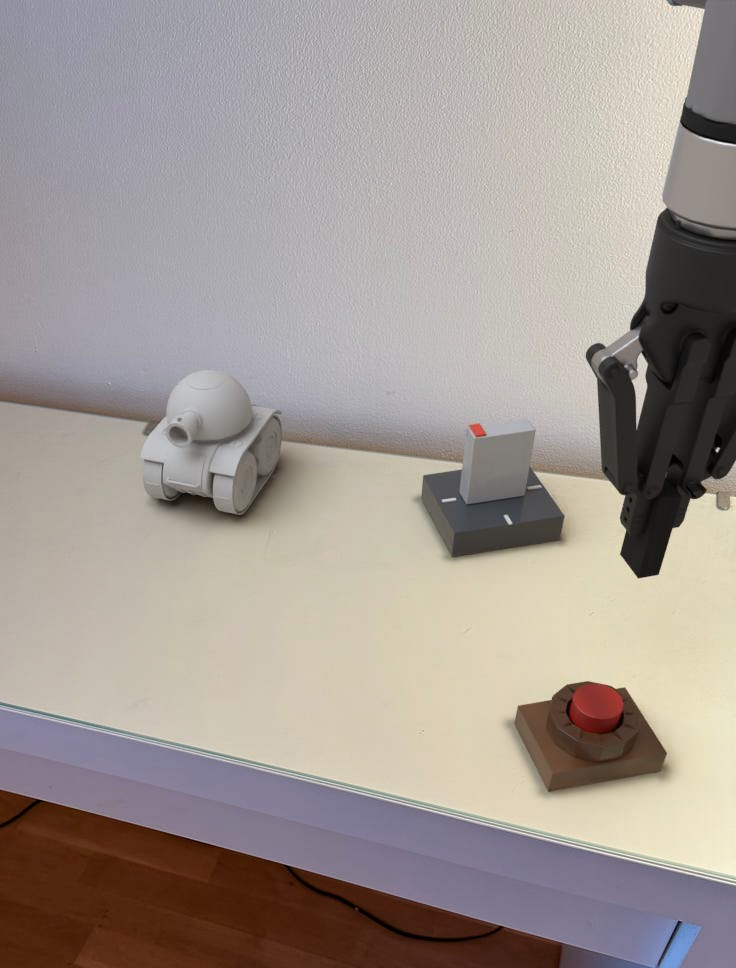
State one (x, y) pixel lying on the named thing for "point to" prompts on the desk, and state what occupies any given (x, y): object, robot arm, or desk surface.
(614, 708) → the button
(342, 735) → the desk surface
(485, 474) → the grey rectangular block
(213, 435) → the toy tank
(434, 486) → the plate
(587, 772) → the button block
